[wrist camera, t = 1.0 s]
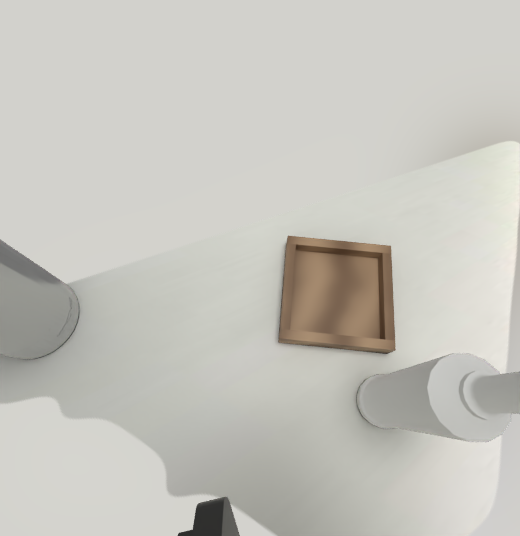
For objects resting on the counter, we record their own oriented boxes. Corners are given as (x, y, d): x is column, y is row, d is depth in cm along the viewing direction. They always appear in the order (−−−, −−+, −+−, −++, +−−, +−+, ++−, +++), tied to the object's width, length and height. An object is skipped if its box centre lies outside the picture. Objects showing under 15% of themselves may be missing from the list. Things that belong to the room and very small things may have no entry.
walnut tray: (278, 342, 39) (279, 338, 37) (286, 244, 43) (287, 235, 41) (387, 353, 39) (395, 350, 36) (383, 254, 43) (390, 245, 41)
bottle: (368, 365, 38) (548, 299, 15) (412, 393, 37) (677, 368, 14) (345, 408, 37) (510, 409, 13) (391, 439, 36) (653, 496, 12)
